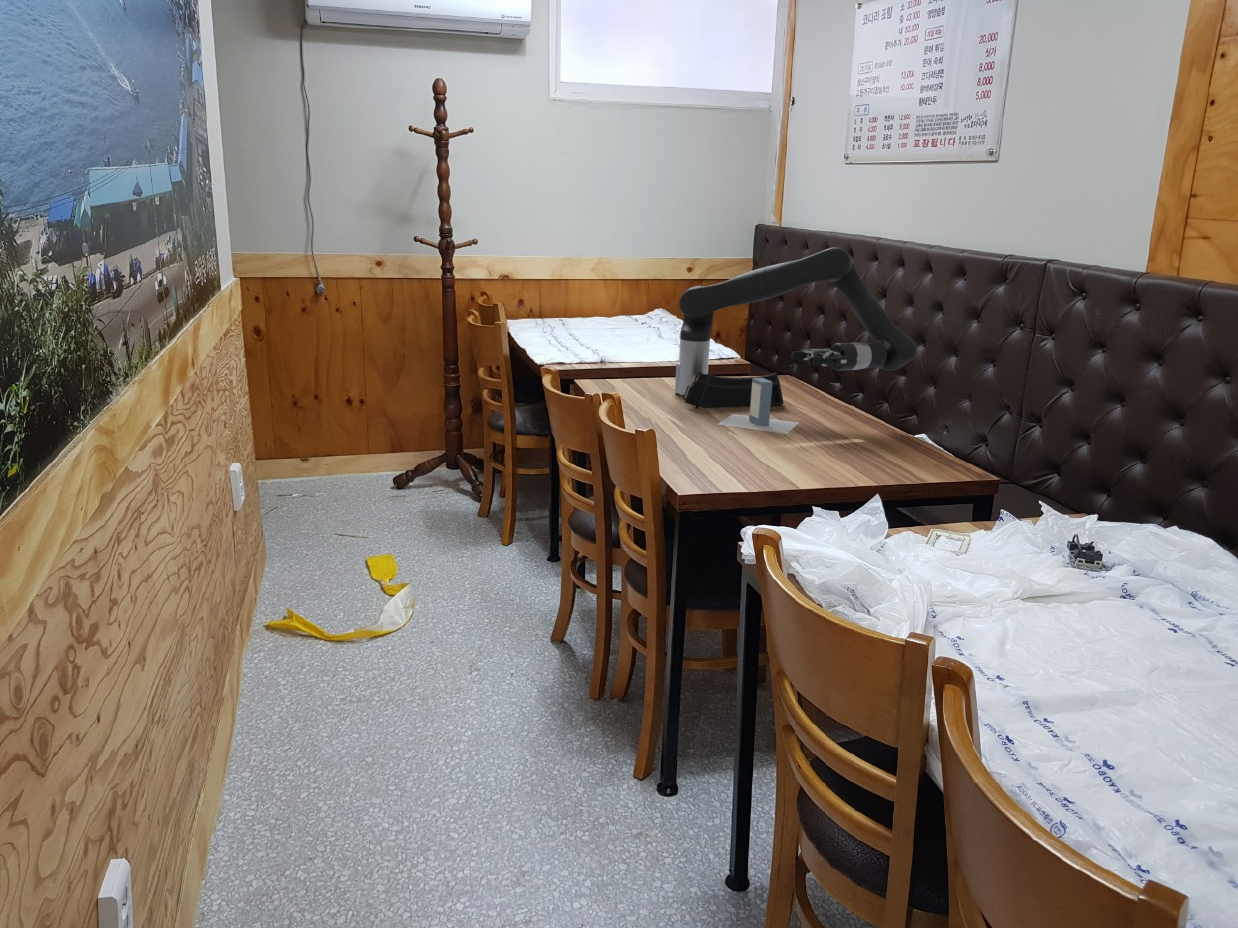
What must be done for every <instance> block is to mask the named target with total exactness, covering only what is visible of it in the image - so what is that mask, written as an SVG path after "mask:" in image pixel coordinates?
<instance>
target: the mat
mask: <svg viewBox="0 0 1238 928" xmlns="http://www.w3.org/2000/svg"><path fill="white" fill-rule="evenodd" d="M799 423H800V422H799V421H791V420H783V419H774V418H769V426H758V425H755V424H753V423H751V422H749V415H743V414H735V413H732V414H731V415H729V416H727V417H726V418H725V419H723V420H722V421H720V422H719V423H718V424H717V425H719V426H726V427H732V428H733V427H734V428H741V429H748V430H749V429H750V430H754V431H762V432H768V433H769V432H770V433H778V434H784V435H785V434H786V435H788V434H789V433H790V432H791V431H793V429H794V428H795V427H796V426H797V425H799Z"/></svg>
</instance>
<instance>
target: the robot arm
mask: <svg viewBox="0 0 1238 928" xmlns="http://www.w3.org/2000/svg"><path fill="white" fill-rule="evenodd" d="M822 281H823V282H824V281H829V282H831V283H832V284H833V285H834V286H835V288H837V289H838V290H839V292H840V293H841V294H842V295H843V297H845V299H846V300H847V302H848V303H849V305H850V306H851V308H852V310H853V312H854V313H855V315H856V316H857V319H858V320H859V322H860V323H861V325H862V327H863V328H865V331H866V332H867V333H868V335H869V336H870V337H871V339H872V340H873V341H874V342H859V341H857V342H837V343H834V344H833V345H832V346H831V347H830V349H828V348H822V349H821V348H806V349H805V348H802V349H800V350H799V351H792V352H791V354H790V359H791V360H793V361H799V360H800V361H801V360H803V361H807V365H808V366H822V367H828V368H832V369H833V370H835V371H852V370H854V371H856V370H862V369H872V368H877V369H880V370H883V371H897V370H899V369H902V368H903V367H904V366H907V364H909V363H910V362H911V361H913V360H914V359H915V358H916V357H917V354H918V348H917V345H916V342H915V341H914V340H913V339H912V337H910V336H909V335H908V334H907V333H905V332H904V331H903V330H902V328H901V329H900V328H899V327H898V326H896V325H895V323H893V321H892V320H891V318H890V317H889V315H888V314H887V312H886V311H885V310H884V308H883V307H882V306H881V305H880V303H879V302H878V301H877V300H876V298H875V297H874V296H873V295H872V294H871V293H870V291H869V289H868V288H867V286H865V284H864V282H863V280H861V277H860V276H859V274H858V272H857V269H856V267H855V266H854V263H853V259H852V257H851V255H850V254H849V253H848V252H847V251H846V250H845V249H844V248H841V247H838V246H836V247H835V246H833V247H829V248H827V249H824V250H821V251H819V252H817V253H814V254H811V255H808V256H806V257H803V258H801V259H797V260H792V261H787V262H786V261H785V262H782V263H777V264H776V263H775V264H771V265H768V266H765V267H764V266H763V267H761V268H757V269H753V270H751V271H747V272H744V273H741V274H739V275H738V276H735V277H733V278H730V279H727V280H725V281H722V282H719V283H715V284H711V285H705V286H703V285H696V286H692V287H689V288H688V289H686V290H685V291H683V293H682V294H681V296H680V298H679V302H678V303H679V304H678V305H679V309H680V310H679V311H681V313H682V314H683V322H682V326H681V329H680V333H679V334H680V335H679V352H678V362H676V365H675V383H674V386H675V387H674V394H675V393H678V394H677V395H679V394H680V396H683V395H685V392H686V389H687V387H688V385H690V383H691V381H692V378H693V377H694V375H695V377H696V375H697V373H698V371H701V372H702V374H709V359H710V346H711V333H712V329H713V324H714V323H713V321H714V312H716V311H718V310H721V309H724V308H725V309H726V308H729V307H733V306H740V305H747V304H753V303H757V302H762V301H765V300H769V299H773V298H776V297H779V296H782V295H784V294H787V293H789V292H790V291H791V292H792V290H794V289H797V288H799V287H801V286H804V285H808V284H813V283H818V282H822ZM882 341H885V342H887V343H888V344H889V346H887V347H886V346H885V345H884V344H882V343H880V342H882Z"/></svg>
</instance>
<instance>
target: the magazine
mask: <svg viewBox="0 0 1238 928" xmlns="http://www.w3.org/2000/svg"><path fill="white" fill-rule="evenodd" d="M752 378H764V379H766V380H769V381H772V394H771V406H770V407H772V406H776V405H784V397H783V392H782V387H781V383H780V379H779V376H778V372H775V371H774V372H773V373H770V374H766V375H761V376H760V375H759V376H748V377H729V376H727V377H726V376H720V375H718V376H717V375H713V374H712V375H711V374H709V373H708V374H702V372H701V371H698V373H697V375H696V377H695V375H694V377H693V378H692V381H691V383H690V385H688V387H687V389H686V392H685V395H684V396H683V400H684V401H685V404H688V405H690V406H694V408H695V410H699V408H703V409H704V408H705V409H714V408H715V409H716V408H717V409H718V408H736V407H737V408H739V407H742V408H743V407H745V408H746V407H750V402H751V389H752Z"/></svg>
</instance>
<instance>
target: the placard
mask: <svg viewBox="0 0 1238 928" xmlns="http://www.w3.org/2000/svg"><path fill="white" fill-rule="evenodd" d="M771 394H772V381H769V380H766V379H764V378H752V389H751V402H750V406H749V414H748V416H749V422H751V423H753V424H755V425H758V426H769V419H771V418H770V417H771V407H772V406H771Z"/></svg>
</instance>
